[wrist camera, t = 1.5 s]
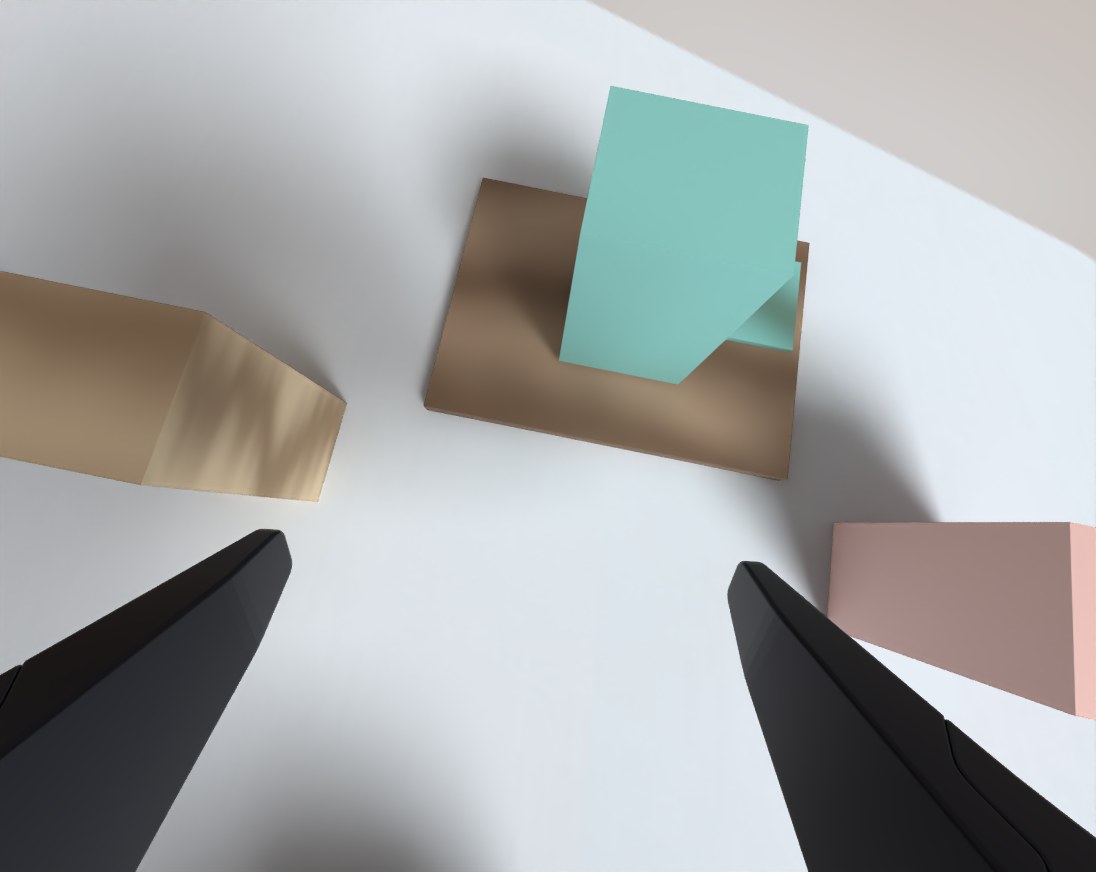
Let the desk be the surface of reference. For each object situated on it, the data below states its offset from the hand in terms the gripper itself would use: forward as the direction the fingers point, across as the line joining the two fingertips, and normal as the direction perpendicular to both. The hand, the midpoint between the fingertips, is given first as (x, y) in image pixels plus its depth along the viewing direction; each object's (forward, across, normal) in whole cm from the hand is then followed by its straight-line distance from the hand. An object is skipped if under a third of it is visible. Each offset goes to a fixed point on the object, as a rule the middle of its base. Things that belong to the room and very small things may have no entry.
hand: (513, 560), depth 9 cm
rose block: (+9, -18, +9) cm, 22 cm away
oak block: (+12, +13, +6) cm, 19 cm away
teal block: (+16, -4, 0) cm, 17 cm away
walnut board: (+17, -4, 0) cm, 17 cm away
